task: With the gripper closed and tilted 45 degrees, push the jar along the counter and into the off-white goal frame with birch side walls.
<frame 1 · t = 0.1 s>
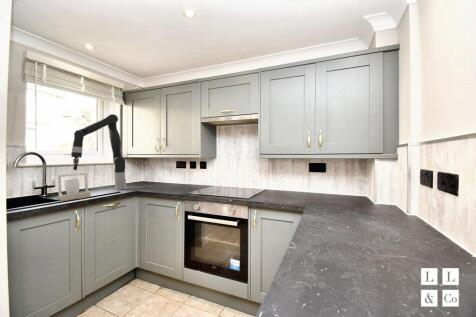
hand: (75, 170, 191), 22 cm above the countertop, tool pointing down, fingers open, 8 cm apart
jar: (72, 195, 188), on the countertop
goal: (74, 197, 179), on the countertop
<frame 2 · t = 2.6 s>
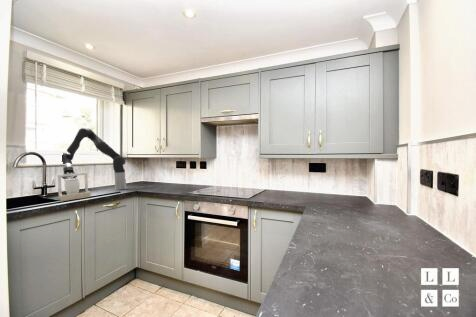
hand: (70, 182, 196), 11 cm above the countertop, tool tilted 45°, fingers closed
nothing on the countertop moved.
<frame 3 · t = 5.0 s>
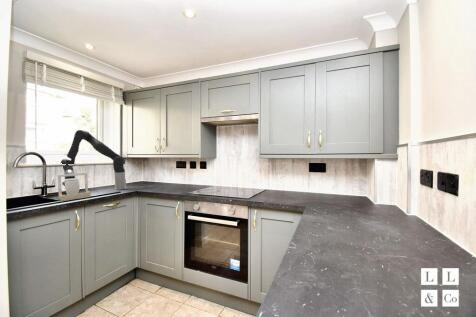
hand: (71, 190, 192), 4 cm above the countertop, tool tilted 45°, fingers closed
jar: (72, 195, 188), on the countertop, touching gripper
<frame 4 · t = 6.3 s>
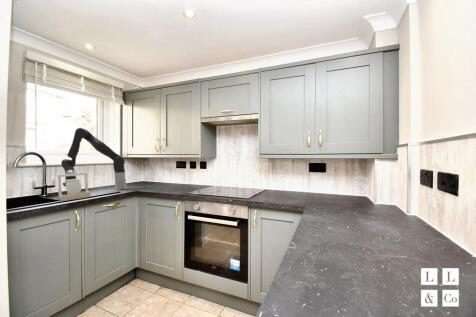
hand: (72, 191, 186), 4 cm above the countertop, tool tilted 45°, fingers closed
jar: (74, 196, 182), on the countertop, touching gripper
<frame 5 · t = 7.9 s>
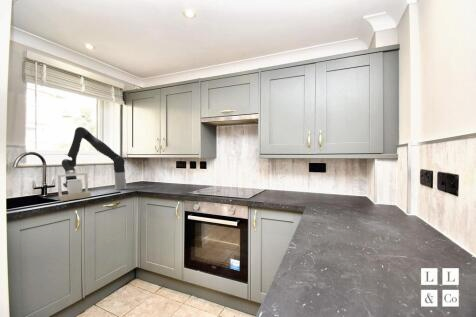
hand: (73, 191, 183), 4 cm above the countertop, tool tilted 45°, fingers closed
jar: (75, 197, 179), on the countertop, touching gripper
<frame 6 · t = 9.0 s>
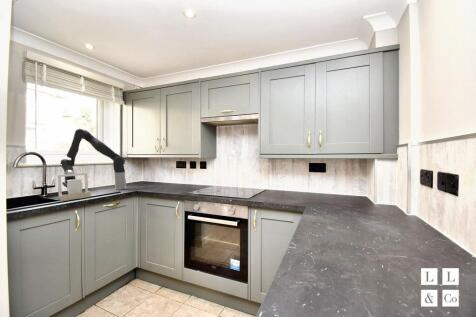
hand: (72, 190, 188), 4 cm above the countertop, tool tilted 45°, fingers closed
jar: (75, 197, 179), on the countertop
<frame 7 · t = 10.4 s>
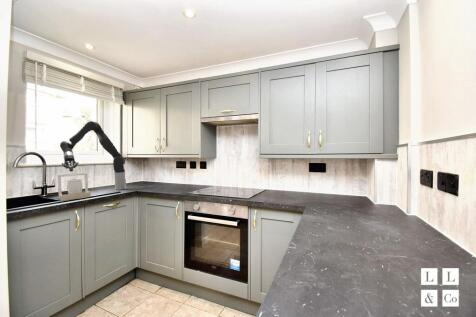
hand: (71, 170, 191), 22 cm above the countertop, tool tilted 45°, fingers closed
nothing on the countertop moved.
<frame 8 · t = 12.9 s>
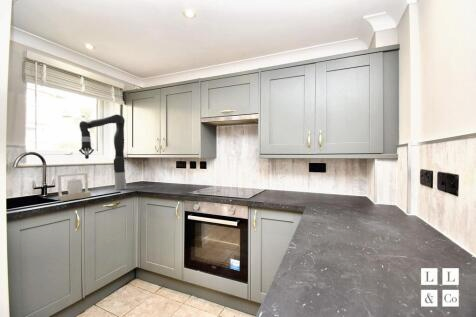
hand: (87, 158, 212), 32 cm above the countertop, tool pointing down, fingers closed
nothing on the countertop moved.
at the end: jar 0.4 cm from the goal (horizontally); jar tilted 0° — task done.
